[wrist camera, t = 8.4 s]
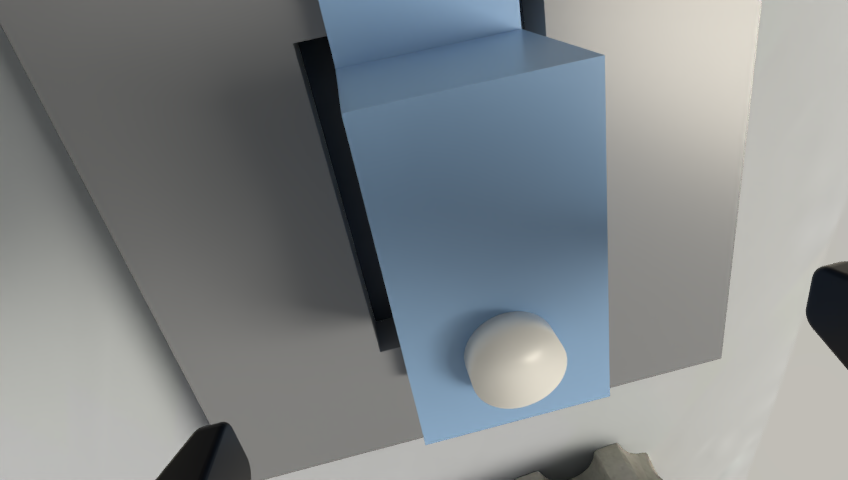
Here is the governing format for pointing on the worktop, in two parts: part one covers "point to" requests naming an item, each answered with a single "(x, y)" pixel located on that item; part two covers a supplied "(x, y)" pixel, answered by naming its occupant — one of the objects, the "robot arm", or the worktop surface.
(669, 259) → the chassis
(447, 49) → the servo
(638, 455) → the egg carton
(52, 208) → the worktop surface
